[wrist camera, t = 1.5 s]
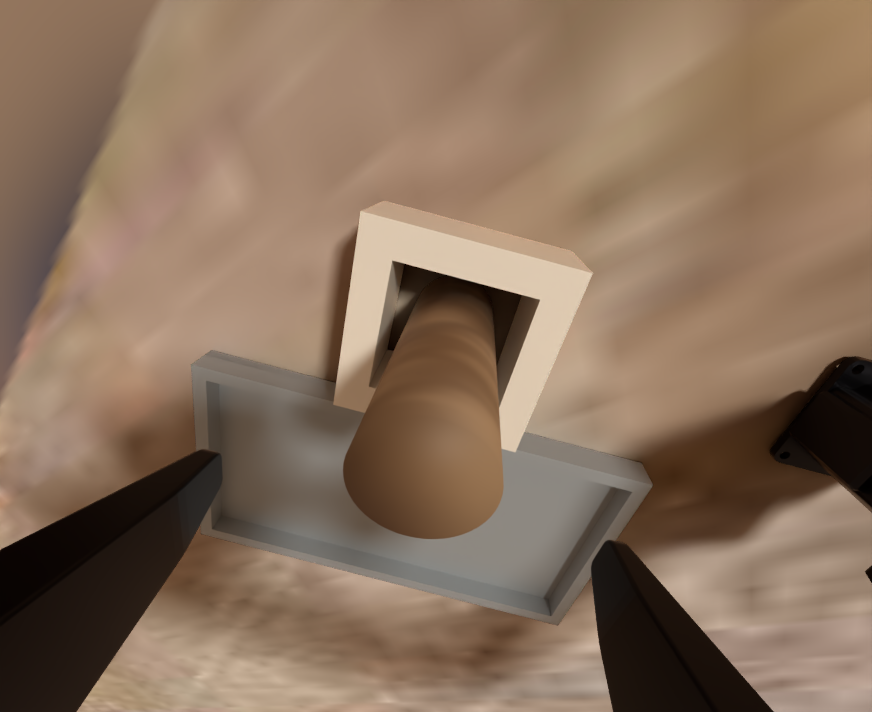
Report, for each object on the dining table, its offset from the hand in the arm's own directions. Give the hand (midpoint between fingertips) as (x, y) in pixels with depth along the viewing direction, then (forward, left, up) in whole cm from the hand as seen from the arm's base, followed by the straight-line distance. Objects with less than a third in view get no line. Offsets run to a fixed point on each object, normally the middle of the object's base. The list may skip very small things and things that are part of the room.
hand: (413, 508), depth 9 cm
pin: (0, 0, -13) cm, 13 cm away
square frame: (0, 0, -13) cm, 13 cm away
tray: (0, +13, -13) cm, 18 cm away
